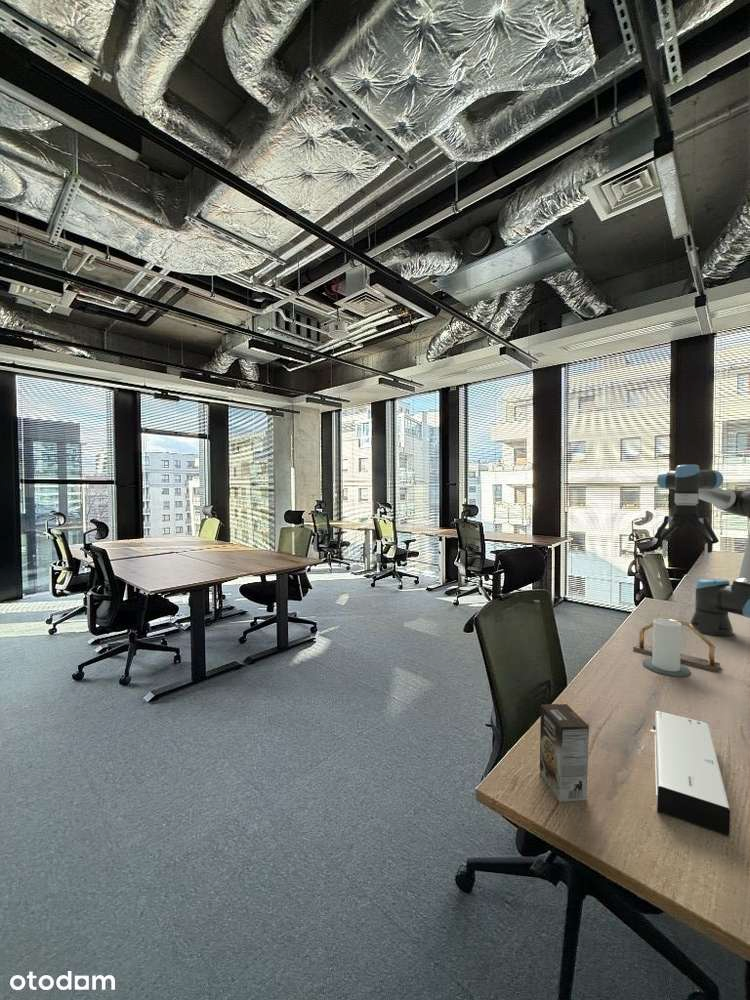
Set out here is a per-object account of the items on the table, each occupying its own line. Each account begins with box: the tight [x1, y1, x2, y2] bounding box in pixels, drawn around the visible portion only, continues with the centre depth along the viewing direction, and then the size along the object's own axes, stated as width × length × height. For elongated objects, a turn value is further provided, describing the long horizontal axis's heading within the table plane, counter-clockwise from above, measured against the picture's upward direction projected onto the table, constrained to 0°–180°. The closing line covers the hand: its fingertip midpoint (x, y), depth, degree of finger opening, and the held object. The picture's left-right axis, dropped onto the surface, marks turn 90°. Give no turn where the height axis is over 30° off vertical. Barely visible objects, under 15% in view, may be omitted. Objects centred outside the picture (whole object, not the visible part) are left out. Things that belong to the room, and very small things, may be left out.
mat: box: [642, 657, 691, 678], centre depth 152 cm, size 14×14×1 cm
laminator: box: [649, 710, 731, 837], centre depth 96 cm, size 34×12×6 cm, turn 147°
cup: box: [651, 618, 682, 671], centre depth 152 cm, size 8×8×16 cm
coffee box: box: [539, 703, 590, 803], centre depth 92 cm, size 9×6×16 cm
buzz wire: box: [632, 617, 721, 673], centre depth 160 cm, size 6×26×15 cm, turn 43°
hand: (684, 558), depth 166 cm, fingers open, 13 cm apart
